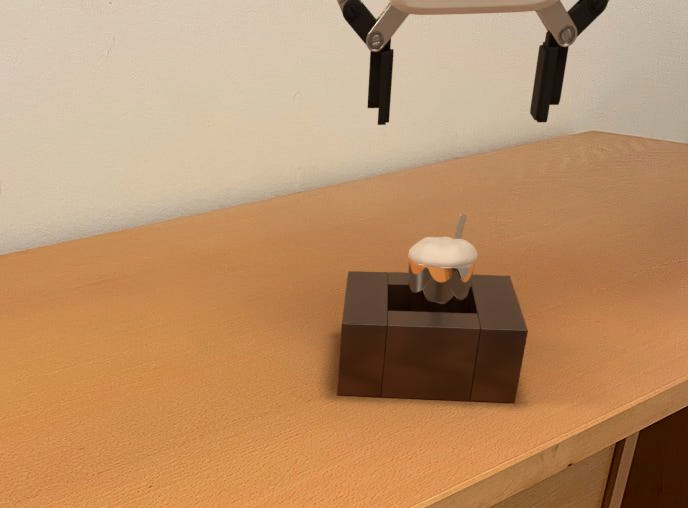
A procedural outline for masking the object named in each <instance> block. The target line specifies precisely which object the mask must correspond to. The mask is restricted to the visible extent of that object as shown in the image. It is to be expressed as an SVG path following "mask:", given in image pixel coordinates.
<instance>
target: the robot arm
mask: <svg viewBox="0 0 688 508" xmlns="http://www.w3.org/2000/svg"><path fill="white" fill-rule="evenodd" d="M609 1H610V0H578V1H576V2H575V3H574V4H573V5H572V6H571V7H570V8H569V9H568V10H567V9H566V8H565V6H564V4H563V3H562V1H561V0H389V2H388V4H387V5H386V6H385V7H384V8H383V10H382V11H381V13H379V15H378V17H377V18H376V17H375V15H373V13H372V12H371V10H370V9H369V8H368V7H367V6H366V5H365V3H363V1H362V0H336V2H337V4H338V6H339V9H340V11H341V14H342V16H343V19H344V20H345V21H346V23H347V24H348V25H349V26H350V28H351V29H352V30H353V31H354V32H355V34H356V35H357V36H358V37H359V38H360V39H361V41H362V42H363V44H364V45H366V48H367V50H369V51H370V53H369V69H368V71H369V72H368V90H367V109H378V112H377V126H386V124H388V123H390V114H391V113H390V111H391V100H392V99H391V97H392V82H393V70H394V69H393V66H394V48H391V46H392V37H393V36H394V34H395V33H396V32H397V31H398V30H399V28H400V27H401V26H402V25H403V23H404V22H405V21H406V19H407V18H408V17H409V16H410V15H415V16H441V15H442V16H443V15H444V16H445V15H446V16H447V15H474V14H475V15H476V14H478V15H479V14H504V13H506V14H507V13H527V12H535V14H536V15H537V17H538V19H539V20H540V21H541V23H542V25H543V27H544V28H545V30H546V32H545V39H544V41H542V44H540V45H539V47H538V53H537V59H536V67H535V74H534V81H533V82H534V83H533V88H532V95H531V96H532V97H531V102H530V110H529V114H530V115H531V117H532V118H533V120H534V121H536V122H537V123H547V122H548V119H549V112H550V106H559V104H560V102H561V99H562V98H561V97H562V91H563V85H564V78H565V72H566V66H567V60H568V53H569V47H570V46H572V45H573V44H574V43H575V42H576V40H577V38H578V37H579V36H580V35H581V34H582V33H583V32H584V31H585V30H586V29H587V28H588V27H589V26H590V25H591V24H593V22H594V21H595V20H597V18H598V17H599V16H601V14H602V13H604V11H605V10H606V9H607V7H608V3H609Z"/></svg>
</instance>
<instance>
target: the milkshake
mask: <svg viewBox="0 0 688 508" xmlns="http://www.w3.org/2000/svg"><path fill="white" fill-rule="evenodd" d="M467 216H468V215H467V214H466V213H460V215H459V219H458V222H457V227H456V230H455V234H454V237H450V236H447V235H445V236H435V237H434V236H426V237H424V238H421V239H420V240H419V241H416V242H415V244H413V245H412V246H411V247H410V248H409V250H408V254H407V255H408V273H409V281H408V311H412V312H442V313H464V310H465V305H466V301H467V296H468V292H469V287H470V283H471V279H472V275H474V270H475V265H476V262H477V258H478V252H477V249H476V248H475V247H474V244H472V243H470V242H469V241H467V240H465V239H463V238H462V236H463V232H464V228H465V225H466V222H467V221H466V220H467Z"/></svg>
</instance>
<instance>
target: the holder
mask: <svg viewBox="0 0 688 508" xmlns="http://www.w3.org/2000/svg"><path fill="white" fill-rule="evenodd" d="M346 276H347V277H346V285H345V292H344V293H345V294H344V301H343V309H342V319H341V327H340V342H339V356H338V357H339V359H338V371H337V372H338V374H337V388H336V395H337V396H351V397H353V396H354V397H371V398H372V397H373V398H374V397H375V398H376V397H377V398H380V397H381V398H395V399H396V398H397V399H420V400H422V399H423V400H442V401H465V402H469V401H470V402H490V403H509V404H510V403H516V399H517V394H518V389H519V382H520V378H521V377H520V376H521V371H522V365H523V361H524V356H525V350H526V345H527V338H528V333H529V329H528V326H527V324H526V320H525V317H524V314H523V311H522V309H521V308H522V307H521V305H520V302H519V299H518V296H517V293H516V290H515V287H514V283H513V281H512V278H511V275H501V274H500V275H499V274H498V275H497V274H494V275H493V274H473V275H472V279H471V283H470V287H469V292H468V296H467V301H466V305H465V310H464V313H442V312H412V311H408V281H409V272H397V271H394V272H393V271H392V272H391V271H388V272H387V271H361V270H360V271H357V270H348V271H347V275H346Z"/></svg>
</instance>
